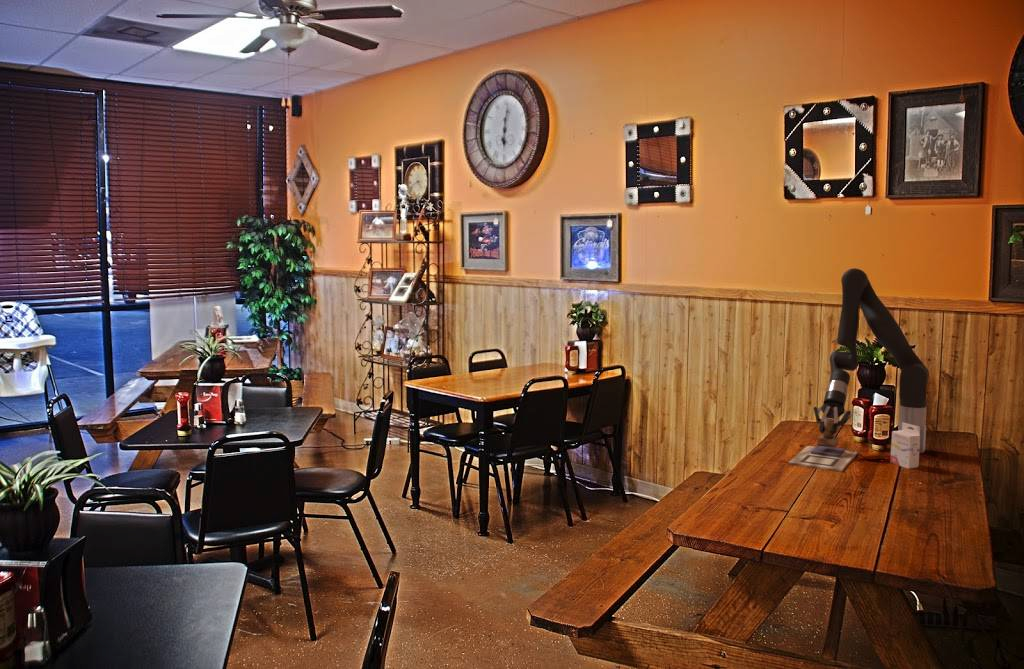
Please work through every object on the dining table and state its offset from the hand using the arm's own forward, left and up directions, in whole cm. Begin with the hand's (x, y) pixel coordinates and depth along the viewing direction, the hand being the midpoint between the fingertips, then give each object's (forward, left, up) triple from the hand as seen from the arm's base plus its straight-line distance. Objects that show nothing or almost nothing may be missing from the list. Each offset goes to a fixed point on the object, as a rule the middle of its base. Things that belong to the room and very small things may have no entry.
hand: (827, 432), depth 309 cm
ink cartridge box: (-26, -2, -9) cm, 28 cm away
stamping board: (0, +5, -9) cm, 10 cm away
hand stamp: (0, -2, -5) cm, 5 cm away
